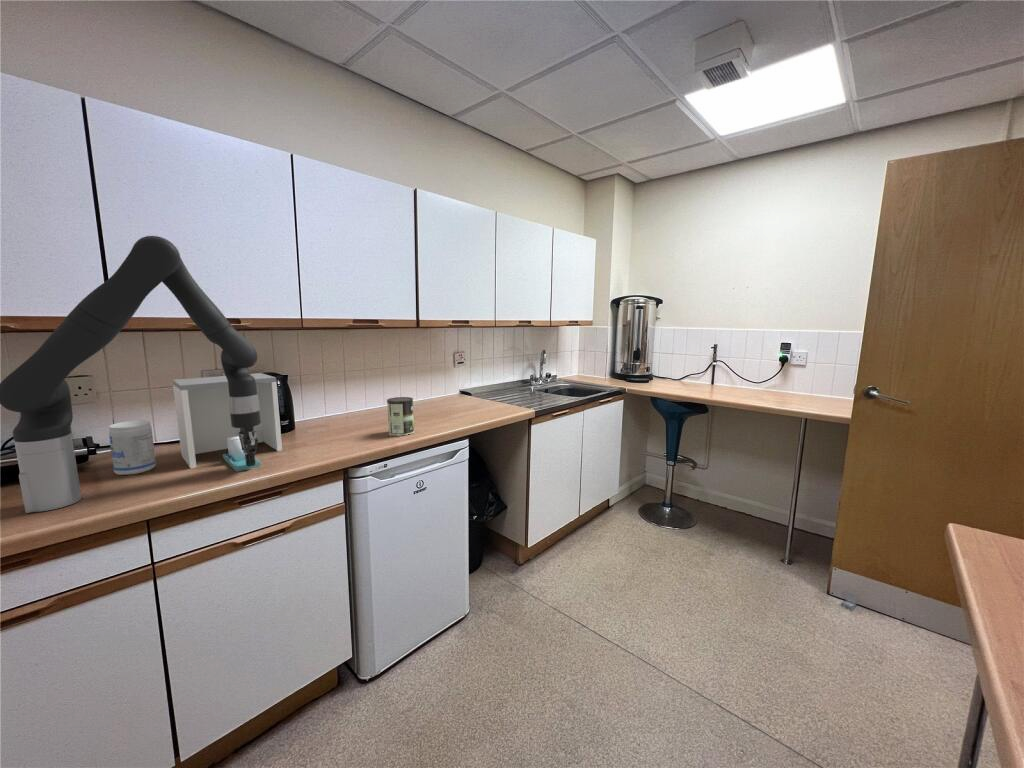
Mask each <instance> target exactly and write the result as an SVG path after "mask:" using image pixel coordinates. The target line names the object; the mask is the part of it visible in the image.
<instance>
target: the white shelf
mask: <svg viewBox="0 0 1024 768" xmlns="http://www.w3.org/2000/svg"><path fill="white" fill-rule="evenodd" d="M250 375H251V376H253V377H254V378H255V381H256V388H257V397H258V401H259V409H260V419H261V423H260V424H259V425H257V426H254V427H253V428H254V431H256V435H257V436H256V438H257V439H258V444H260V443H265V444H266V445H268V446H269V447H271V448H272V449H274V450H276V451H277V452H280V451H283V442H282V433H281V432H282V431H281V430H282V429H281V420H280V410H279V409H280V407H279V406H280V405H279V396H278V385H277V383H278V382H277V376H276V377H275V376H272V375H269V374H265V373H262V372H259V373H250ZM172 388H173V395H174V396H173V397H174V406H175V412H176V420H177V428H178V430H177V431H178V435H179V438H178V439H179V444H180V445H179V446H180V453H181V457H182V458H183V460H184V461H185V463H186V465H188V468H190V469H194V468H195V469H196V468H197V460H196V455H199V454H205V453H210V452H214V451H215V452H216V451H220V450H221V451H222V450H228V445H227V437H230V436H235V435H238V432H240V428H234V427H232V425H231V416H230V407H229V400H230V398H229V397H230V396H229V388H228V380H227V378H226V376H225V375H221V376H220V375H219V376H207V377H195V378H194V377H193V378H182V379H181V378H180V379H172Z"/></svg>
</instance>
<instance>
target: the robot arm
mask: <svg viewBox="0 0 1024 768" xmlns="http://www.w3.org/2000/svg"><path fill="white" fill-rule="evenodd" d="M161 283H163V284H164V286H165V287H167V289H168V290H169V291H170V292H171V294H172V295H174V297H175V298H176V300H177V301H178V302H179V303H180V305H181V307H182V308H183V309H184V311H185V312H186V314H187V315H188V316H189V318H190V320H191V321H192V322H193V323H194V324H195V326H196V327H197V328H198V329H199V330H200V331H201V334H203V336H205V337H206V338H207V340H208V341H210V342H211V343H212V344H215V345H217V346H219V347H220V348H221V349H222V350H221V353H220V362H221V367H222V370H223V373H224V376H226V378H227V380H228V388H229V396H230V397H229V398H230V400H229V407H230V416H231V425H232V427H234V428H240V432H238V436H239V439H240V443H241V447H242V450H244V451H243V453H244V454H245V460H246V465H247V466H253V465H255V457H256V456H255V454H256V453H257V452H258V451H257V449H258V444H259V443H258V439H257V438H256V436H257V435H256V431H254V428H253V427H254V426H257V425H259V424H260V423H261V419H260V409H259V401H258V397H257V388H256V381H255V378H254V377H253V376H251V375H250V374H251V373H250V370H249V368H251V367H254V366H255V364H256V363H257V361H258V351H256V349H255V347H254V345H253V344H252V343H251V342H250V341H249V340H247V339H246V338H245V336H243V335H242V334H241V333H240V332H238V331H237V329H235V328H234V326H233V325H232V324H231V322H230V321H229V320H228V319H227V318H226V316H225V315H224V314H223V312H222V311H221V310H220V309H219V307H217V305H216V304H215V303H214V302H213V300H211V298H210V297H209V296H208V295H207V294H206V293H205V291H203V289H202V288H201V286H200V285H199V284H198V283H197V282H196V280H195V279H194V278H193V276H192V275H191V273H190V272H189V270H188V269H187V266H186V265H185V263H184V261H183V260H182V258H181V254H180V252H179V250H178V248H177V247H176V246H175V244H174V243H172V242H171V241H170V240H168V239H166V238H164V237H162V236H158V235H157V236H156V235H146V236H142V237H141V238H139V239H137V241H135V243H134V244H133V246H132V247H131V250H130V251H129V253H128V254H127V256H126V257H125V259H124V260H123V262H122V263H121V265H120V266H119V267H118V269H116V270H115V272H114V273H113V274H112V275H111V276H110V277H109V278H108V279H107V280H106V281H104V282H103V283H102V284H100V285H99V286H97V287H96V288H95V289H94V290H92V291H90V293H89V294H87V295H86V296H85V297H84V298H83V299H81V300H80V301H79V303H77V305H76V306H75V307H74V308H73V309H72V310H71V311H70V312H69V313H68V314H67V316H66V317H65V318H64V319H63V320H62V321H61V323H60V324H59V325H58V326H57V327H56V328H55V329H54V330H53V331H52V333H51V334H50V335H48V337H47V338H46V340H45V341H44V342H43V343H42V344H41V345H40V347H39V348H38V349H37V350H36V351H35V352H34V353H33V354H32V355H31V356H30V357H28V358H27V359H26V360H25V361H24V362H23V363H21V364H20V365H19V366H18V367H17V368H15V369H14V370H13V371H11V373H9V374H8V375H6V377H5V378H4V379H3V380H2V381H0V406H2V407H3V408H4V409H6V410H7V411H10V412H13V413H14V412H15V413H20V417H19V421H18V423H17V425H16V426H15V427H14V428H13V430H12V437H13V441H14V446H15V448H14V449H15V452H16V457H17V462H18V463H17V464H18V468H19V469H18V470H19V474H18V479H19V485H20V486H19V487H20V489H21V490H20V491H21V496H22V500H23V501H22V502H23V506H24V512H25V514H30V513H37V512H46V511H47V512H48V511H52V510H57V509H60V508H64V507H67V506H70V505H73V504H75V503H78V502H79V501H81V500H82V490H81V487H80V479H79V474H78V467H77V466H78V465H77V462H76V461H77V460H76V455H75V449H74V443H73V436H72V429H71V426H72V423H73V420H74V419H73V418H74V417H73V416H74V415H73V405H72V398H71V390H70V386H69V385H68V382H67V380H66V378H67V377H69V375H70V374H71V372H72V371H74V370H75V369H76V368H77V367H78V366H80V365H81V364H82V363H84V362H85V361H87V360H88V359H89V358H91V357H92V356H94V355H96V354H97V353H98V352H100V351H101V350H102V349H104V348H105V347H106V346H107V345H109V343H111V341H113V340H114V339H115V338H116V337H117V335H118V334H119V333H120V332H121V331H122V330H123V329H124V328H125V327H126V325H127V324H128V323H129V322H130V320H131V319H132V318H133V316H134V315H135V314H136V312H137V311H138V309H139V308H140V306H141V304H142V303H143V302H144V300H145V299H146V298H147V296H148V295H149V294H150V293H151V292H153V290H154V289H156V287H158V285H160V284H161Z"/></svg>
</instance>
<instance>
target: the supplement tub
mask: <svg viewBox="0 0 1024 768" xmlns="http://www.w3.org/2000/svg"><path fill="white" fill-rule="evenodd" d="M108 429H109V430H108V436H109V437H108V438H109V443H110V444H109V446H110V452H111V459H112V460H111V461H112V468H113V472H114V473H115V474H116V475H119V476H124V475H125V476H126V475H127V476H128V475H137V474H140V473H141V474H142V473H145V472H148V471H151V470H153V469H154V468H155V467H156V454H155V448H154V447H155V446H154V445H155V444H154V439H153V437H154V436H153V429H152V425H151V421H149V420H128V421H122V422H117V423H113V424H110V425H109V426H108Z"/></svg>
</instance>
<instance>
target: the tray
mask: <svg viewBox="0 0 1024 768" xmlns="http://www.w3.org/2000/svg"><path fill="white" fill-rule="evenodd" d="M227 445H228V448H227V453H222V458H223V460H224V461H225V462H226V463H228V465H229V466H231V468H232V469H233V470H234V471H235V472H236V471H237V472H242V471H245V470H249V469H255V468H258V467H261V461H259V460H258V459H257V458H255V465H253V466H247V465H246V460H245V454H244V453H243V451H244V450H242V447H241V443H240V439H239V436H238V435H235V436H230V437H227Z"/></svg>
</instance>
